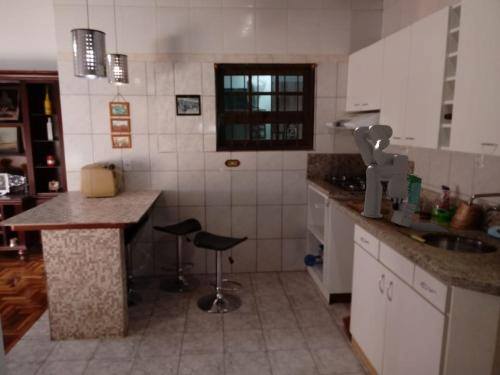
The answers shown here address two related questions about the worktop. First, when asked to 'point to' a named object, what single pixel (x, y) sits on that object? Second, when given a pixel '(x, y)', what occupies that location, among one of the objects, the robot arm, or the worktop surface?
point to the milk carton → (413, 190)
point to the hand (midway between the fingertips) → (395, 210)
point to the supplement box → (404, 214)
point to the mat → (427, 227)
